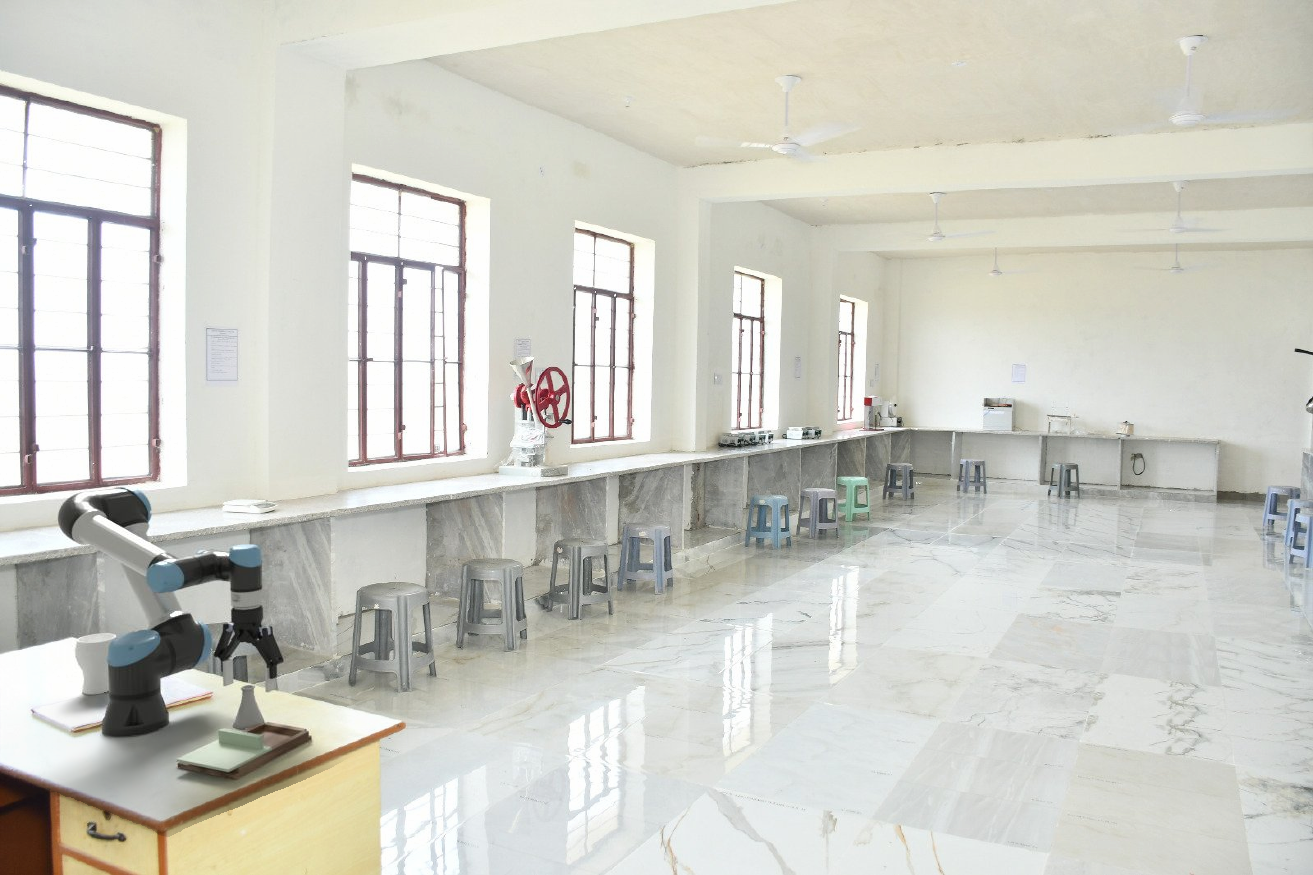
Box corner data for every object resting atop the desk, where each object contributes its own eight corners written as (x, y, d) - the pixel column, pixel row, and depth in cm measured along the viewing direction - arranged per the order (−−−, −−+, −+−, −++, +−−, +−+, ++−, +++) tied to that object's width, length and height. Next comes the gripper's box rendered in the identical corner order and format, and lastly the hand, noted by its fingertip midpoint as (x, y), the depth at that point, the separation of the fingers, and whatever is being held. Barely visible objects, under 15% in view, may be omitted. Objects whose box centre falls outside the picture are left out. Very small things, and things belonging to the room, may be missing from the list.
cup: (127, 688, 277) (126, 636, 276) (89, 699, 268) (87, 645, 267) (107, 681, 282) (105, 630, 281) (68, 691, 274) (67, 639, 272)
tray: (177, 767, 225) (177, 756, 225) (256, 729, 248) (256, 720, 248) (236, 779, 219) (235, 768, 219) (311, 739, 242) (311, 729, 242)
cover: (176, 761, 222) (176, 746, 222) (221, 740, 235) (221, 725, 234) (228, 772, 217) (228, 756, 217) (271, 749, 229) (271, 734, 229)
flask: (252, 731, 247) (251, 692, 247) (227, 728, 249) (226, 690, 248) (269, 720, 255) (269, 683, 254) (244, 718, 256) (244, 681, 255)
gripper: (197, 605, 250) (200, 686, 252) (275, 613, 241) (278, 698, 243) (219, 598, 257) (222, 677, 259) (296, 606, 248) (298, 688, 250)
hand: (249, 687), depth 251 cm, fingers open, 13 cm apart
